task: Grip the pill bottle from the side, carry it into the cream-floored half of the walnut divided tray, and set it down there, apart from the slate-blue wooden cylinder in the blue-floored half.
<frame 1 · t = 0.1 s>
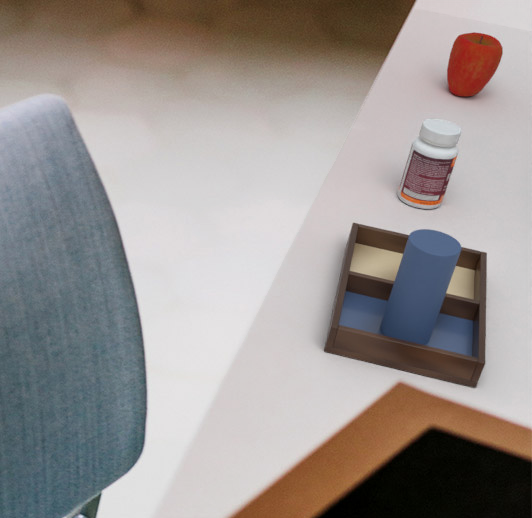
blue cylinder: (405, 331, 105), point 1 cm above the table, touching sorting tray
pill bottle: (418, 201, 128), on the table
sorting tray: (405, 311, 109), on the table
apple: (462, 95, 153), on the table
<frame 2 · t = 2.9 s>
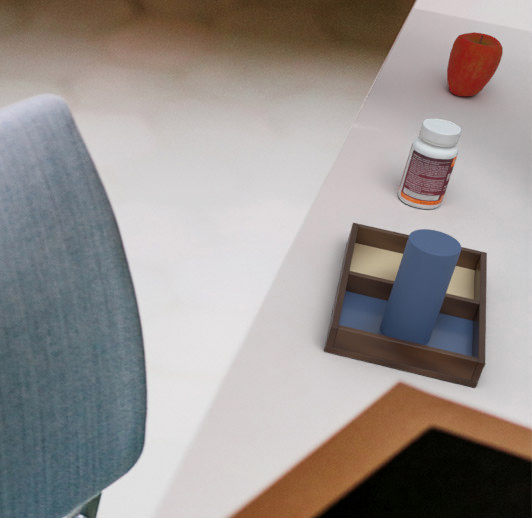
nothing on the table moved.
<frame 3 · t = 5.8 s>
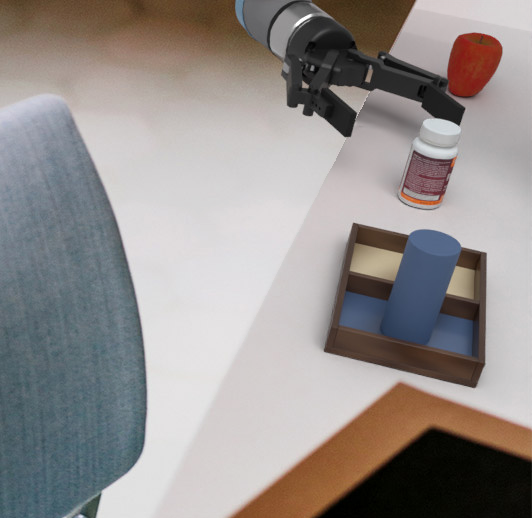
hand: (406, 122, 128), 6 cm above the table, tool horizontal, fingers open, 13 cm apart
nothing on the table moved.
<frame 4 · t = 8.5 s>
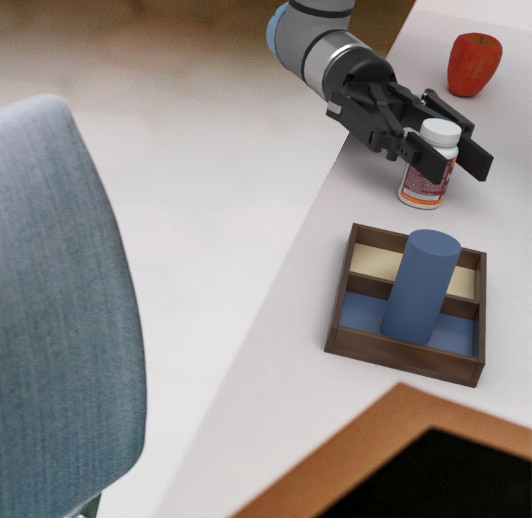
hand: (463, 170, 120), 6 cm above the table, tool horizontal, fingers closed on pill bottle, 5 cm apart
pill bottle: (418, 201, 128), on the table, touching gripper
everything else where it was.
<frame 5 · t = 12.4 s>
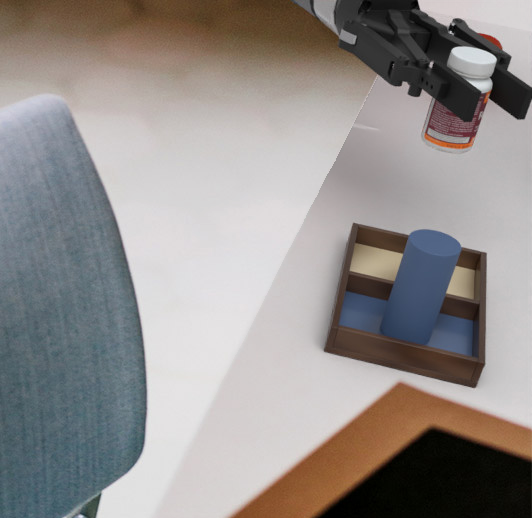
hand: (499, 105, 102), 18 cm above the table, tool horizontal, fingers closed on pill bottle, 5 cm apart
pill bottle: (444, 145, 110), point 12 cm above the table, touching gripper
everything else where it was.
when the fingers open (7 cm above the table, at t = 16.4 s): pill bottle stays where it is, resting on sorting tray.
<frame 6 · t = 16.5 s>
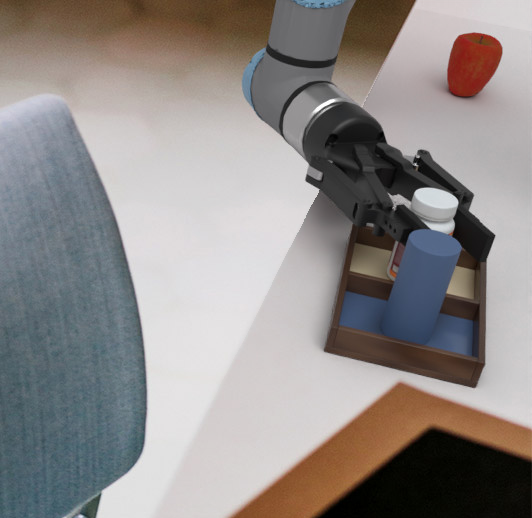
hand: (460, 251, 105), 7 cm above the table, tool horizontal, fingers open, 5 cm apart
pill bottle: (409, 279, 113), point 1 cm above the table, touching sorting tray
everything else where it was.
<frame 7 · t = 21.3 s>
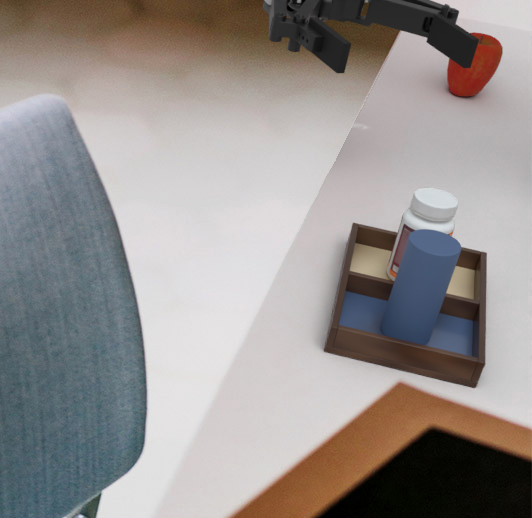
hand: (409, 56, 108), 18 cm above the table, tool horizontal, fingers open, 13 cm apart
nothing on the table moved.
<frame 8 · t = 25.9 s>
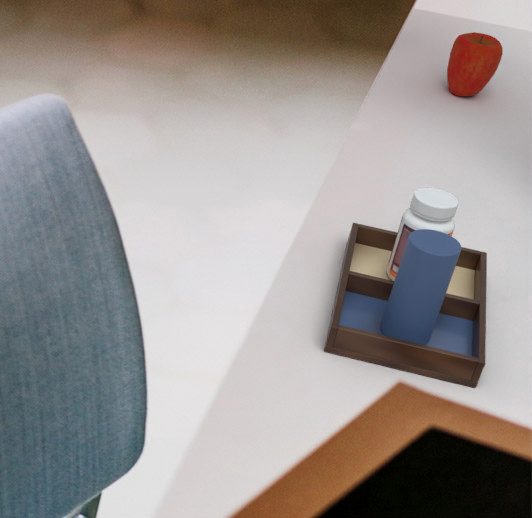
nothing on the table moved.
at the end: pill bottle inside the target area on the sorting tray (0.2 cm from its centre), point 0.6 cm above the sorting tray's base; pill bottle tilted 0°; blue cylinder inside the target area on the sorting tray (0.2 cm from its centre), point 0.8 cm above the sorting tray's base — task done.
